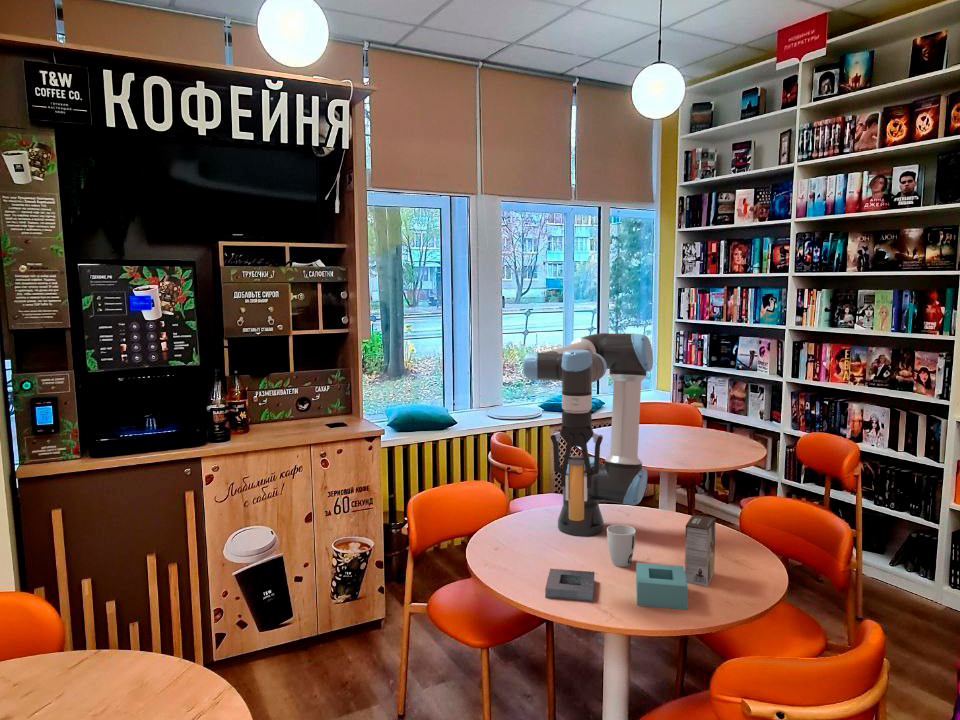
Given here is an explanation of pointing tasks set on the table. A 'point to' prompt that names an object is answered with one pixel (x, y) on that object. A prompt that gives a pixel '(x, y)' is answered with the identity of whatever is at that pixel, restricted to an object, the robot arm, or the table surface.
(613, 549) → the cup
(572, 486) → the pin
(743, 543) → the table surface
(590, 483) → the robot arm
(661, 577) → the socket
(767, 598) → the table surface
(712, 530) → the coffee box
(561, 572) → the mount
